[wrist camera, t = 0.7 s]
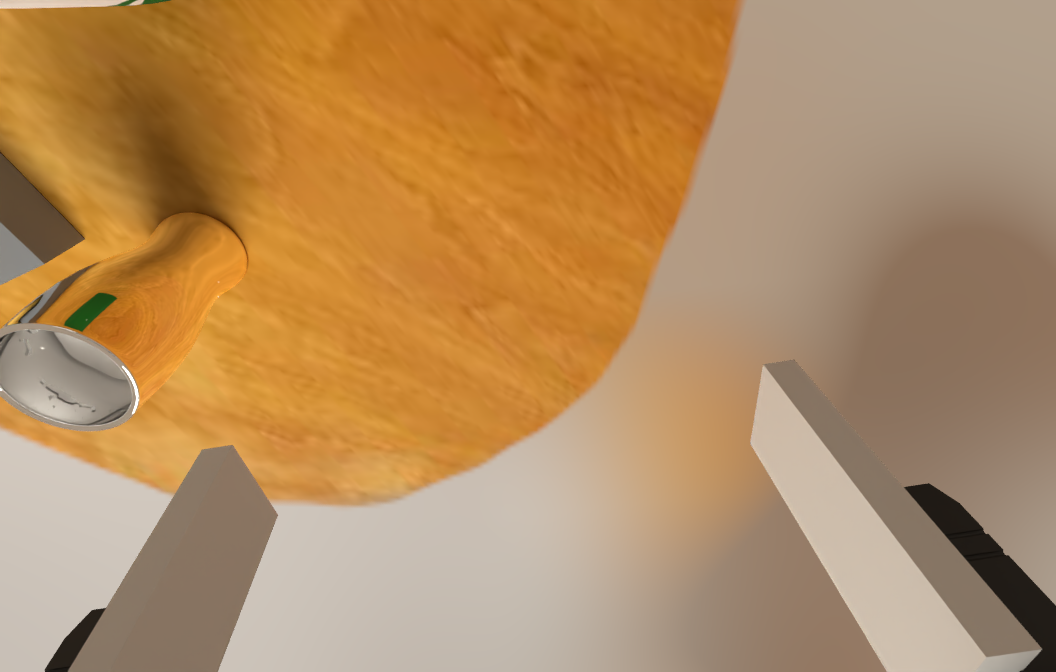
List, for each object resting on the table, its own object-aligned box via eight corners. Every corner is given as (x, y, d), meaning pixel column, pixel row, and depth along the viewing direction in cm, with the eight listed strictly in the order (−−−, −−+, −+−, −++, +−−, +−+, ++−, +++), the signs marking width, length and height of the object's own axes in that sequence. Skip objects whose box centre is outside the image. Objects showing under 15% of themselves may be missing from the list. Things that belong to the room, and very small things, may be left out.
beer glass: (169, 295, 39) (20, 437, 26) (133, 204, 35) (-61, 320, 22) (265, 294, 39) (164, 433, 27) (240, 205, 35) (109, 319, 23)
